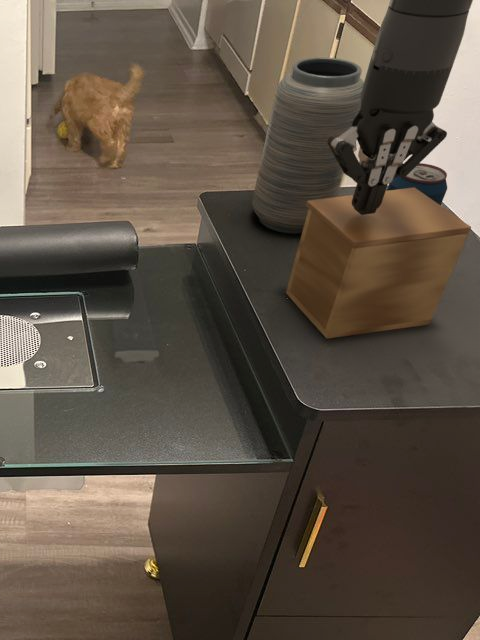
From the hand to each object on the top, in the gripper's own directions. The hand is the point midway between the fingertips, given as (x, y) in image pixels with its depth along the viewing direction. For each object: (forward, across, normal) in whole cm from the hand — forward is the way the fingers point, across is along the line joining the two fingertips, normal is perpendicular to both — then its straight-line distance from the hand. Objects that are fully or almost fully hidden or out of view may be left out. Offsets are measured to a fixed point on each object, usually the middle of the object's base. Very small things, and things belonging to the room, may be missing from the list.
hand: (363, 211), depth 85 cm
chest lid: (+2, -3, 0) cm, 3 cm away
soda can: (+15, -16, -12) cm, 25 cm away
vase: (+15, -6, -24) cm, 29 cm away
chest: (+14, -3, 0) cm, 15 cm away
